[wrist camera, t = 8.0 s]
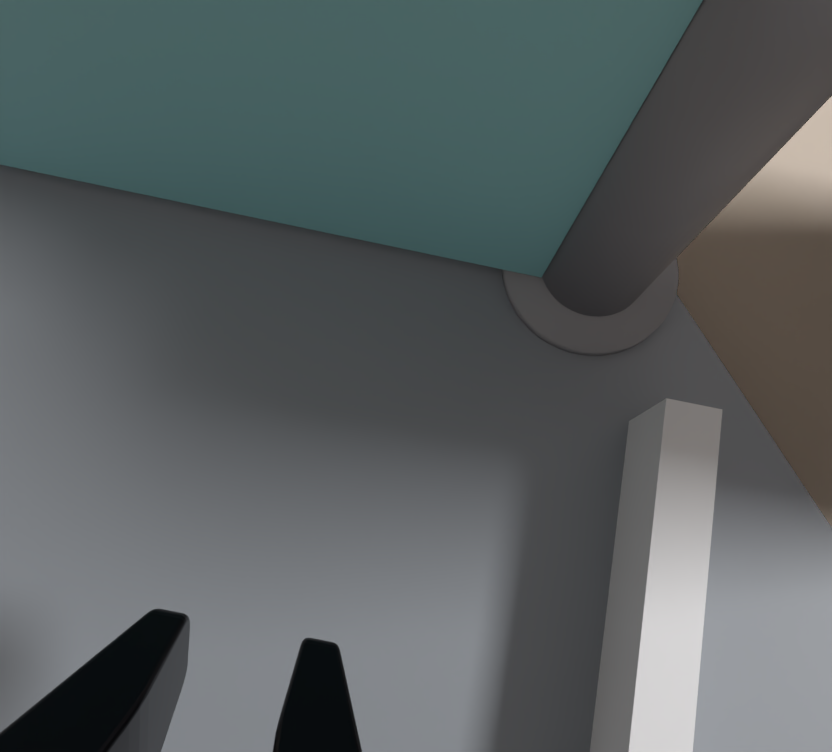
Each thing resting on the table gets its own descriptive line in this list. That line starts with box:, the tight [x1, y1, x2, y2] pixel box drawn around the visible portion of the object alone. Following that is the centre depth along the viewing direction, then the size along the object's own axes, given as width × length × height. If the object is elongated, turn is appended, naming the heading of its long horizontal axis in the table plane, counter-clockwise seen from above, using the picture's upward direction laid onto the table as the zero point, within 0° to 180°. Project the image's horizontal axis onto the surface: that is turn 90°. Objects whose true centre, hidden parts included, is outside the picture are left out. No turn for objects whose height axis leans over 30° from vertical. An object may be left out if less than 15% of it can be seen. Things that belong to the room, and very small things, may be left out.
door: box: [0, 0, 832, 317], centre depth 11 cm, size 14×3×10 cm, turn 79°
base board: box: [0, 165, 832, 752], centre depth 14 cm, size 19×24×3 cm
